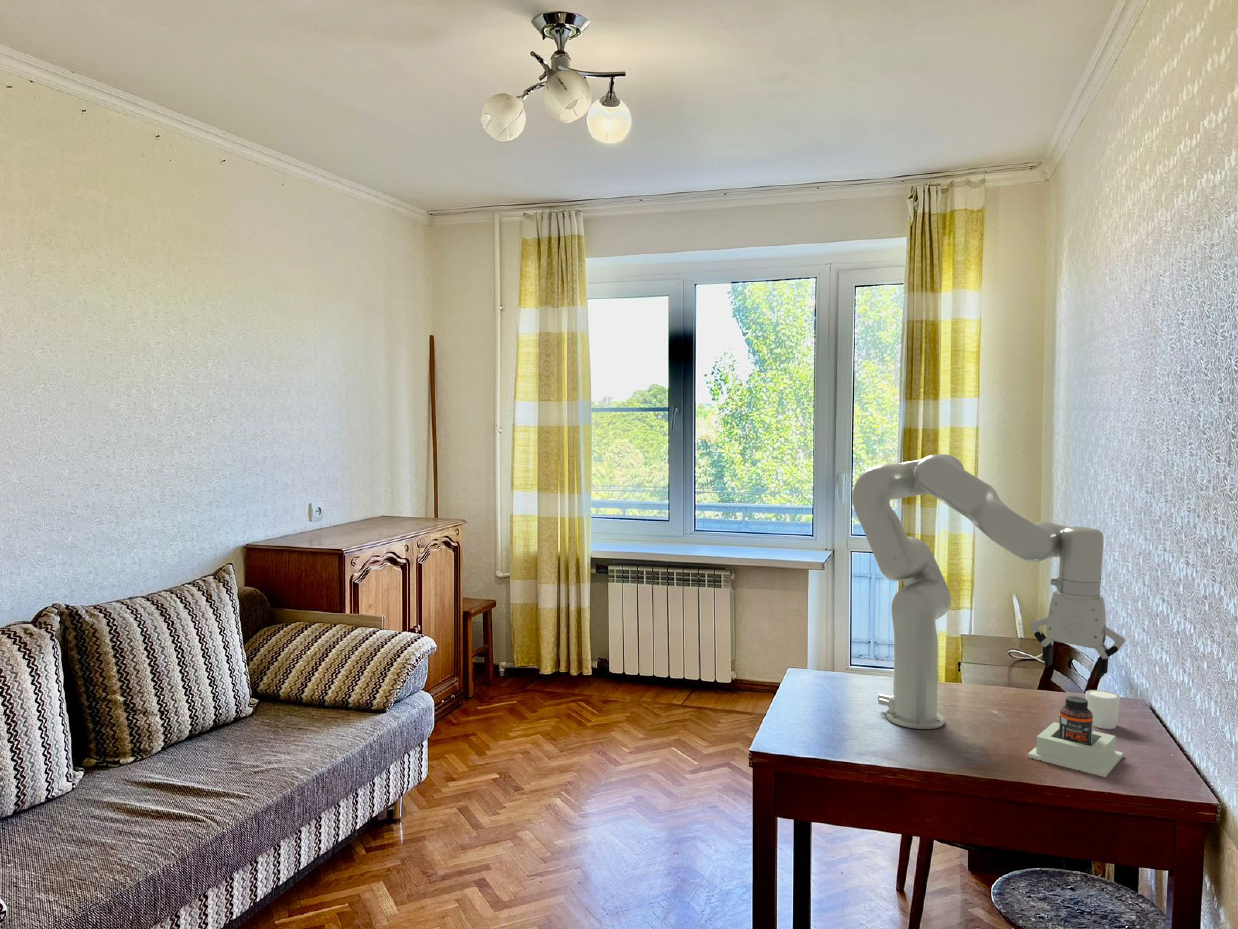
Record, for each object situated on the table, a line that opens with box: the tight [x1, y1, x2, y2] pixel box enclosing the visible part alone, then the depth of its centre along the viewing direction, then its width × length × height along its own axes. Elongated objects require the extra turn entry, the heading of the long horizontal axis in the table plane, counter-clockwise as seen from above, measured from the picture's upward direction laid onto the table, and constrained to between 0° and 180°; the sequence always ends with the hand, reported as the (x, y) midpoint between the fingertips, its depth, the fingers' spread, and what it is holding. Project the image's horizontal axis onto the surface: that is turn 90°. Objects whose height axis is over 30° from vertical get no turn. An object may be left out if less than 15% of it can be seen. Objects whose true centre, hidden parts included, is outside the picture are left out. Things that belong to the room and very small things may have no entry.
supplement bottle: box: [1059, 695, 1094, 746], centre depth 167 cm, size 6×6×11 cm
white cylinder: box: [1084, 689, 1121, 730], centre depth 186 cm, size 7×7×7 cm
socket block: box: [1027, 722, 1124, 778], centre depth 168 cm, size 14×14×4 cm
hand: (1073, 670), depth 167 cm, fingers open, 9 cm apart
